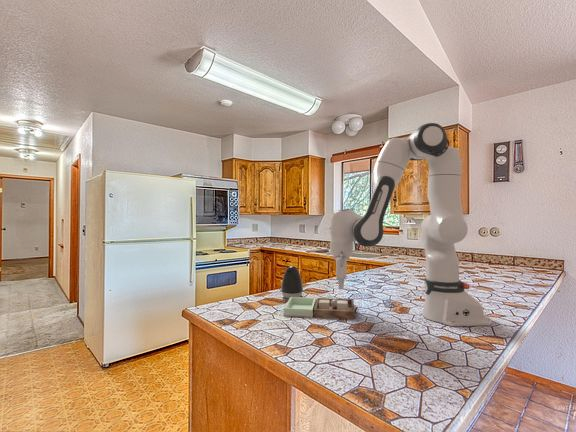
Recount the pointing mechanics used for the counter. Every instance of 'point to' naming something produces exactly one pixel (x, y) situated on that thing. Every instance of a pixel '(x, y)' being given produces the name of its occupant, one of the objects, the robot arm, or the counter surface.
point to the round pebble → (334, 303)
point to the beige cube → (324, 304)
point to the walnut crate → (335, 310)
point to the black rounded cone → (291, 283)
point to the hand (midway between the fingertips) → (341, 286)
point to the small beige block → (342, 305)
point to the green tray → (300, 306)
